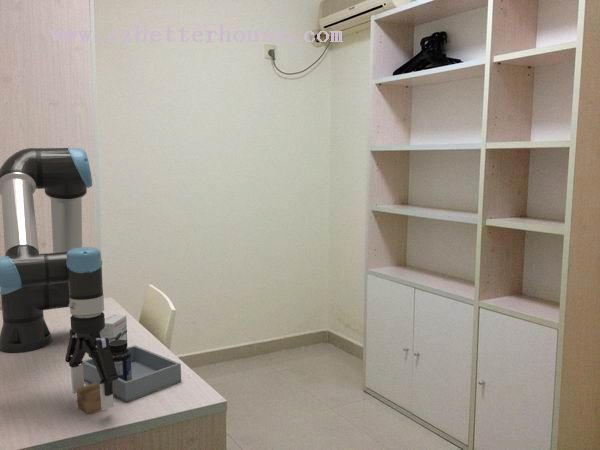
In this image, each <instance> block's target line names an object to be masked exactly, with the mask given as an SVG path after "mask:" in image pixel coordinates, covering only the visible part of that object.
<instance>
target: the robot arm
mask: <svg viewBox="0 0 600 450" xmlns="http://www.w3.org/2000/svg"><path fill="white" fill-rule="evenodd" d="M89 161H90V160H89V159H88V154H87V152H86V151H85V150H84V149H83V148H74V147H69V146H68V147H45V148H44V147H41V148H40V147H38V148H36V147H28V148H24V149H20V150H19V151H16V152H14V153H13V154H12V155H11V156H9V157H8V158H7V159H6V160H5V161H4V162H3V164H2V165H1V167H0V195H1V205H2V207H1V208H2V221H3V222H2V224H3V227H2V228H3V239H4V240H3V241H4V242H3V243H4V256H0V295H1V296H0V297H1V298H0V299H1V311H2V315H1V316H2V326H1V330H0V351H2V352H6V353H22V352H23V353H24V352H28V351H33V350H37V349H41V348H44V347H46V346H48V345H50V344H51V342H52V334H51V331H50V329H49V326H48V325H47V322H46V320H45V318H44V317H45V315H44V311H47V310H55V309H64V308H69V312H70V314H71V316H70V317H69V319H70V329H69V340H68V343H67V349H66V354H65V362H66V363H68V365H69V367H70V372H71V373H70V374H71V389H72V394H73V395H75V394H77V389H78V388H81V387H84V386H85V380H84V376H83V365H81V364H82V362H83V361H84V360H83V359H84V357H85V356H86V354H88V357H89V359H93V361H94V364H95V366H96V368H97V371H98V373H99V375H100V378H101V381H100V396H101V409H102V410H101V411H104V410H107V409H109V408H112V407H114V396H113V385H112V382H113V381H114V380H117V379H118V375H117V371H116V368H115V364H114V361H113V358H112V354H111V351H110V348H109V340H108V338H103V339H102V338H101V336H100V331H101V330H102V329H104V327H105V318H106V317H105V313H104V311H105V301H104V289H103V269H102V268H103V267H102V266H103V260H102V255H101V249H99V248H97V247H92V246H88V247H87V246H86V247H85V246H84V247H83V218H82V217H83V214H82V213H83V212H82V211H83V209H82V198H83V197H85V196H86V194H87V192H88V191H87V189H90V188H91V187H92V186H93V177H92V171H91V167H90V162H89ZM37 189H38V190H40V189H41V190H44V194H45V196H47V197H49V198H50V212H51V213H50V214H51V215H50V217H51V236H52V238H51V239H52V252H51V253H50V252H49V253H40V250H39V249H40V247H39V241H38V240H39V239H38V231H37V230H38V229H37V222H36V212H35V211H36V210H35V203H34V193H35V192H36V190H37Z"/></svg>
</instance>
